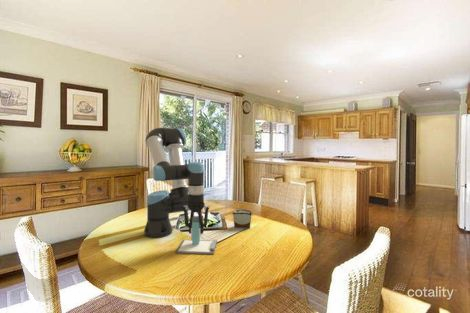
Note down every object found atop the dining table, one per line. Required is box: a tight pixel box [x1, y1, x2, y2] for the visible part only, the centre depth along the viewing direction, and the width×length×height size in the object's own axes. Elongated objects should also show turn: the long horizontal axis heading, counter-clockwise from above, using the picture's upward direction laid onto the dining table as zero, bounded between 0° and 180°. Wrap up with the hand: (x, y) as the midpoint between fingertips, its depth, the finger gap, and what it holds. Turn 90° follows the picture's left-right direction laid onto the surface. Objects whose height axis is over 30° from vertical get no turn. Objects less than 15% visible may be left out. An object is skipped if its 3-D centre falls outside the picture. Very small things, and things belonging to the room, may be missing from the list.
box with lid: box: [192, 215, 200, 244], centre depth 119 cm, size 3×3×13 cm
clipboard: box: [174, 239, 218, 256], centre depth 118 cm, size 18×14×2 cm
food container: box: [232, 208, 253, 229], centre depth 146 cm, size 12×6×10 cm, turn 84°
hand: (196, 239), depth 119 cm, fingers closed on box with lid, 3 cm apart
